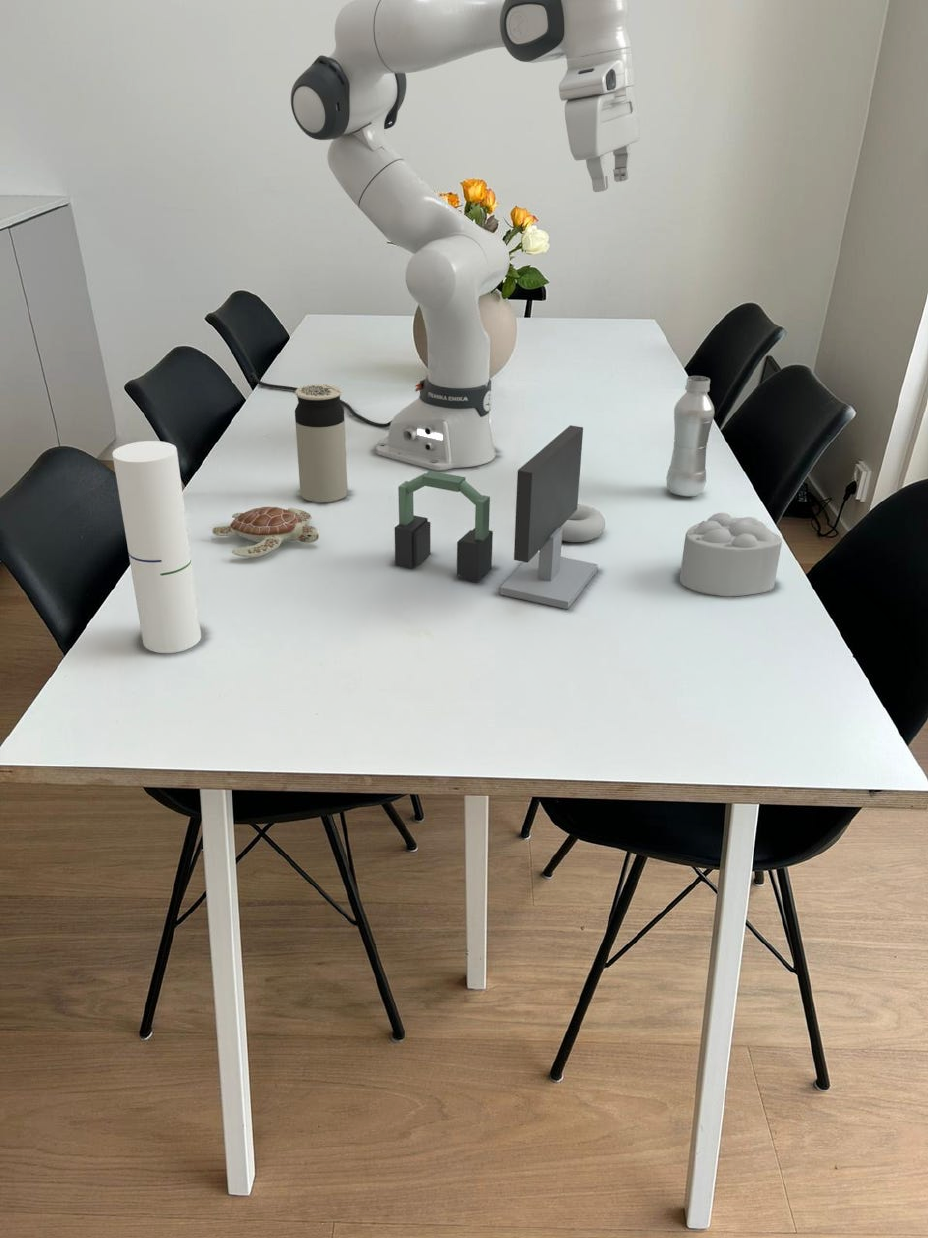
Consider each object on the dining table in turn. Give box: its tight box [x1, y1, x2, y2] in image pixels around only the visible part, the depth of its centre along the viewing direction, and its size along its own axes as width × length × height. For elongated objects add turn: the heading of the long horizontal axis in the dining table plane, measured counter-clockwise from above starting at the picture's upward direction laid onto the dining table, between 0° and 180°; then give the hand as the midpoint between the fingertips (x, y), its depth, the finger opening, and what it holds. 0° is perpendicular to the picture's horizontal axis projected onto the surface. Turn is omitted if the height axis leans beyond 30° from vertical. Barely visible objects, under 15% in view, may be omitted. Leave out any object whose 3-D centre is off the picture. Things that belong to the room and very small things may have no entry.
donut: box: [560, 503, 606, 543], centre depth 159 cm, size 10×4×10 cm
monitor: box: [499, 424, 599, 610], centre depth 139 cm, size 10×20×20 cm, turn 156°
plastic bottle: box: [665, 375, 715, 497], centre depth 170 cm, size 6×7×20 cm
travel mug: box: [294, 383, 349, 504], centre depth 167 cm, size 8×8×18 cm
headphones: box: [394, 470, 494, 584], centre depth 145 cm, size 13×5×14 cm, turn 66°
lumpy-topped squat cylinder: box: [679, 512, 783, 597], centre depth 144 cm, size 10×13×9 cm
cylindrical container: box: [111, 440, 202, 654], centre depth 123 cm, size 7×7×25 cm
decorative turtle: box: [211, 506, 320, 558], centre depth 155 cm, size 18×17×5 cm
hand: (611, 185), depth 145 cm, fingers open, 8 cm apart
